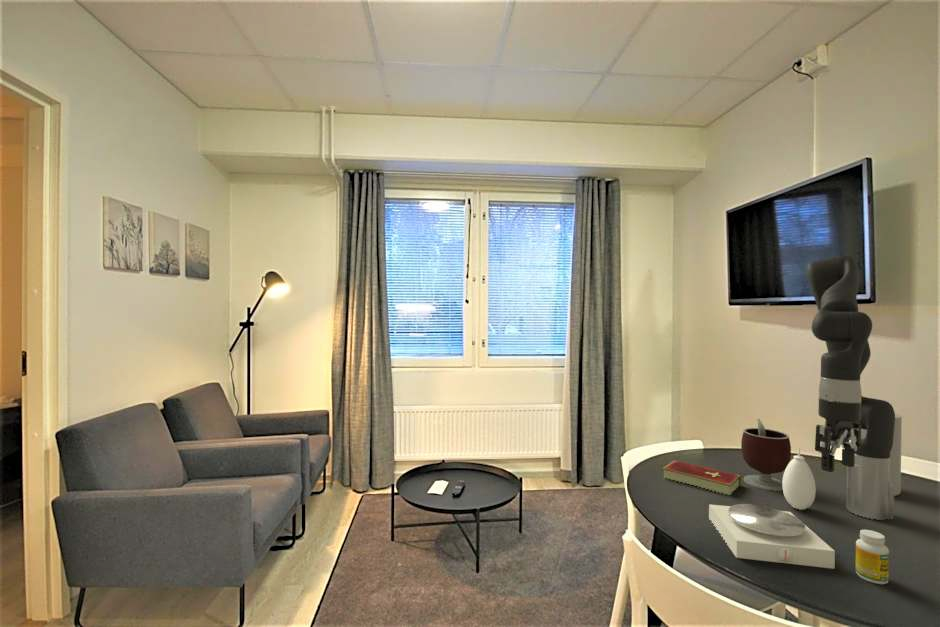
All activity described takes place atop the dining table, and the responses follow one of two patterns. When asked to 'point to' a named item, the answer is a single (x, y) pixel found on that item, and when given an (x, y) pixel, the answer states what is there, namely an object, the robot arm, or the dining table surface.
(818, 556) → the scale base
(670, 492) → the dining table surface
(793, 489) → the white rubber air blower
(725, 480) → the hardcover book
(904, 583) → the dining table surface
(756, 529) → the scale pan
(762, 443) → the mate gourd
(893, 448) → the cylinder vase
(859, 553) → the supplement bottle
